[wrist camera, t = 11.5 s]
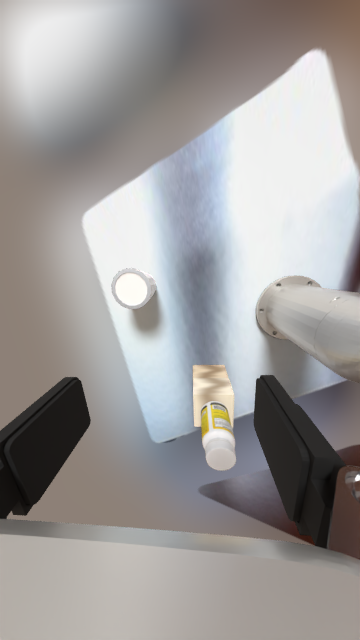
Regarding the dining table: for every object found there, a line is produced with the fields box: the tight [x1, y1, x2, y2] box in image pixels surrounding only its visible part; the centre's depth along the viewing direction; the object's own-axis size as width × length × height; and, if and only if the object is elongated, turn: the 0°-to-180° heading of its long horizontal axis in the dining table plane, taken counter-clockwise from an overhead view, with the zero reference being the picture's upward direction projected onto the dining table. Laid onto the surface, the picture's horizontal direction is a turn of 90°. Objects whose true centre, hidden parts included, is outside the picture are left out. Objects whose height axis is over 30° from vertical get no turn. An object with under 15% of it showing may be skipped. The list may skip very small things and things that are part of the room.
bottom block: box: [193, 365, 228, 378], centre depth 39 cm, size 7×7×5 cm
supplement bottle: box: [201, 401, 236, 471], centre depth 27 cm, size 5×5×8 cm
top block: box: [193, 378, 234, 428], centre depth 34 cm, size 7×7×5 cm
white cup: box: [111, 268, 156, 309], centre depth 33 cm, size 7×7×7 cm
